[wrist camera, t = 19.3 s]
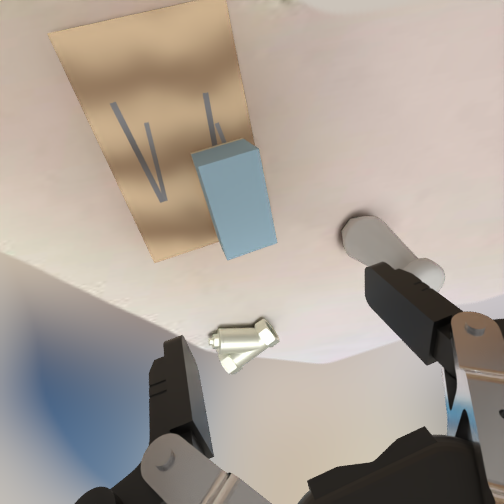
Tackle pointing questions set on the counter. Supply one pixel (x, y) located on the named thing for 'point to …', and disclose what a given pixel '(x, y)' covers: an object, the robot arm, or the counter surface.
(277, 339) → the pipe fitting
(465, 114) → the counter surface
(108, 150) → the oak board
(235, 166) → the block
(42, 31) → the counter surface
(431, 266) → the salt shaker
